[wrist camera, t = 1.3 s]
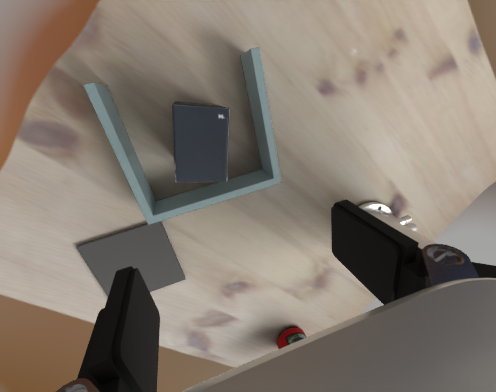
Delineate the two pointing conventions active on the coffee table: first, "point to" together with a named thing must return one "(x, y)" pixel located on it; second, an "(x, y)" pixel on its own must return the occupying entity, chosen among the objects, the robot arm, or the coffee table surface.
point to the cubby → (207, 194)
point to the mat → (134, 256)
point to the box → (200, 142)
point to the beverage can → (290, 337)
